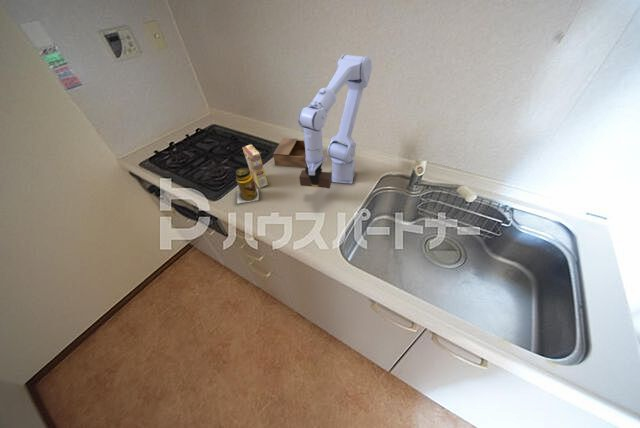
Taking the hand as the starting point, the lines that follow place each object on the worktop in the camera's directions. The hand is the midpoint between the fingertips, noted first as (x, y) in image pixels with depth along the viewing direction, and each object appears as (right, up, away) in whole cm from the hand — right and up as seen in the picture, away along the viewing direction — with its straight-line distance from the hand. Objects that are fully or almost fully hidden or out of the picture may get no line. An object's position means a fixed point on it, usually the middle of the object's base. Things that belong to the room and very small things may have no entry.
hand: (316, 180), depth 87 cm
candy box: (-25, +1, +16) cm, 29 cm away
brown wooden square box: (-11, +15, +28) cm, 34 cm away
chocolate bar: (0, -1, +1) cm, 2 cm away
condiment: (-28, -5, +9) cm, 30 cm away
